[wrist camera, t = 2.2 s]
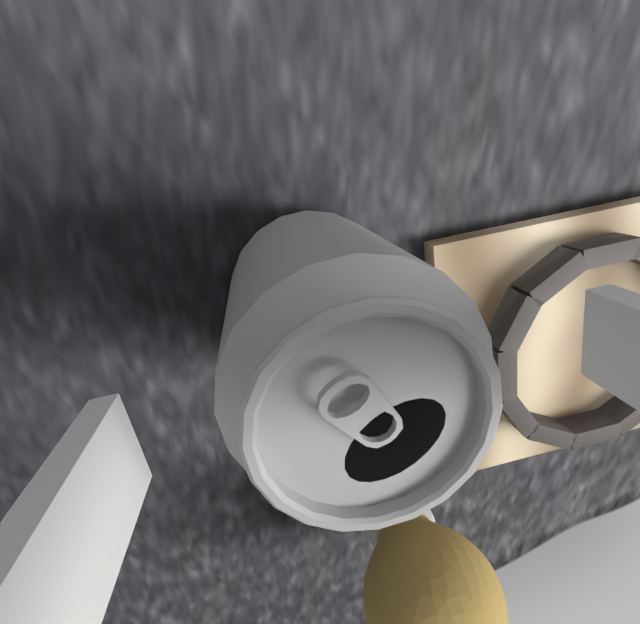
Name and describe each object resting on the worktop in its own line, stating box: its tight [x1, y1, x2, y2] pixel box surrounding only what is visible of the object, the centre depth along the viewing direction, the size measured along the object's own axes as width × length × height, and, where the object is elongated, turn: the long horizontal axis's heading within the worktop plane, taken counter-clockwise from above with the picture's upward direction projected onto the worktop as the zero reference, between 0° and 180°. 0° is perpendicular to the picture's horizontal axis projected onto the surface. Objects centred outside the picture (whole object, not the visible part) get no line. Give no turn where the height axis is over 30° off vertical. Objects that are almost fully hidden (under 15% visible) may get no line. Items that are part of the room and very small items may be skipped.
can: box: [215, 210, 503, 532], centre depth 15 cm, size 8×8×12 cm
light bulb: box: [363, 510, 508, 624], centre depth 21 cm, size 6×6×10 cm
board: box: [424, 196, 640, 471], centre depth 22 cm, size 16×14×3 cm
